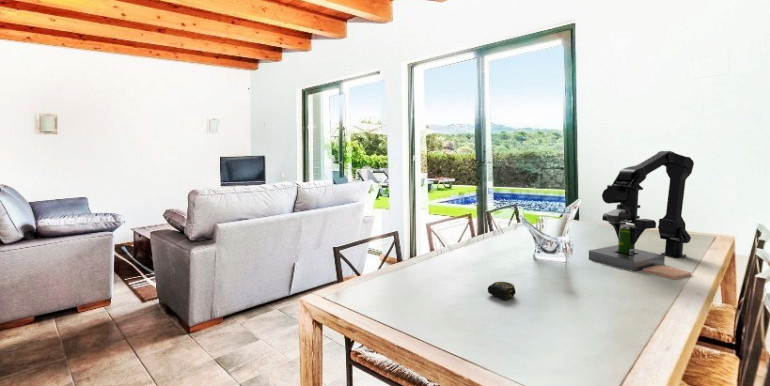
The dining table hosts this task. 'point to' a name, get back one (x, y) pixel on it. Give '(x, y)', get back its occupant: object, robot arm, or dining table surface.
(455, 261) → the dining table surface
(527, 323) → the dining table surface
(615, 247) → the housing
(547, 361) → the dining table surface
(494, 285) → the tape measure
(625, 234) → the beer can
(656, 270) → the coaster
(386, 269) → the dining table surface
